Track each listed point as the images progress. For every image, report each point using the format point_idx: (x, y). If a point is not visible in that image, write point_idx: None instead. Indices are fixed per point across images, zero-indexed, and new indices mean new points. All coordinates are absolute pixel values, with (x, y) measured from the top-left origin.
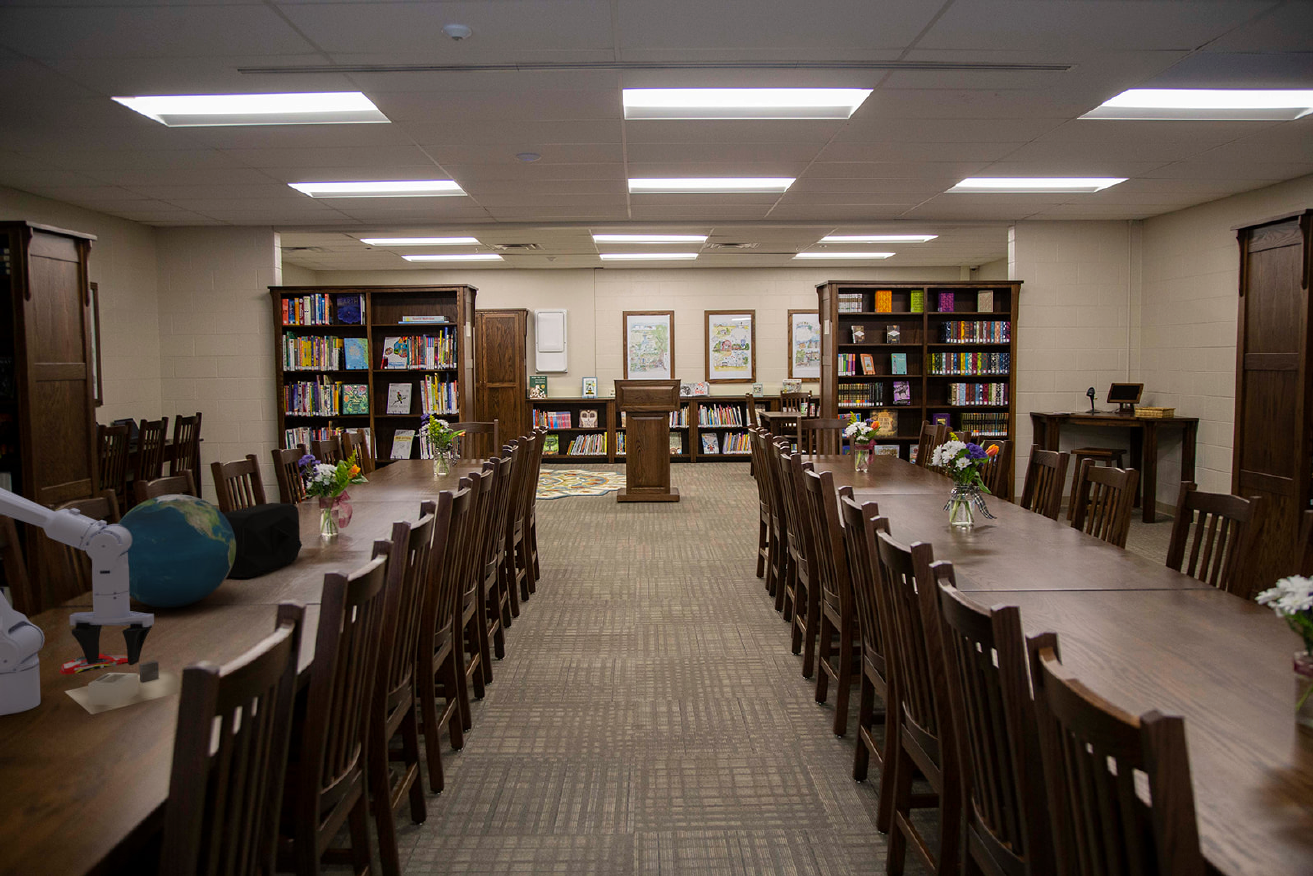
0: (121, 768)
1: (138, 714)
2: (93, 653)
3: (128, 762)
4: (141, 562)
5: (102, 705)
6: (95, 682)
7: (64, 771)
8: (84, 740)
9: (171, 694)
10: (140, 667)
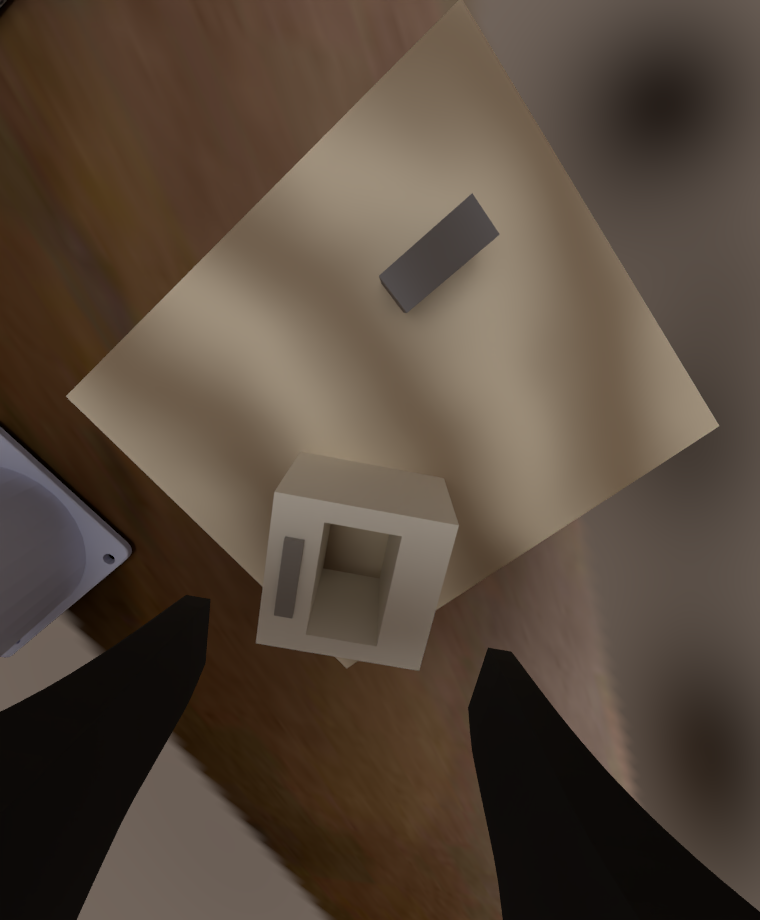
0: None
1: (487, 595)
2: (171, 694)
3: None
4: None
5: None
6: (285, 636)
7: (428, 900)
8: (392, 761)
9: (601, 502)
10: (391, 293)
